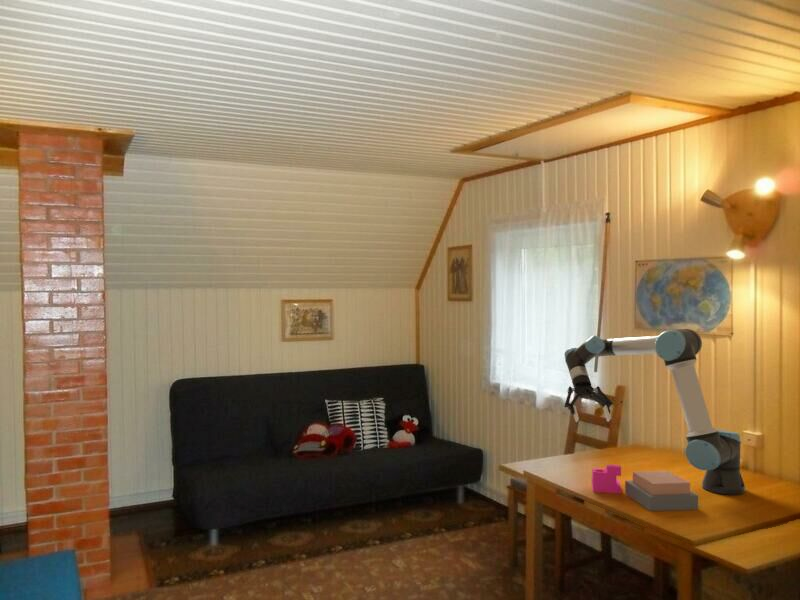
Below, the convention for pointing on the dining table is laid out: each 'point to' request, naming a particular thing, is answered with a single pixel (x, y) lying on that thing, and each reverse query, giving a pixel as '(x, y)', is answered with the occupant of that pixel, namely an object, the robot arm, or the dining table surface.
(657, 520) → the dining table surface
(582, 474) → the dining table surface
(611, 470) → the bracket
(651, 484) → the two-tone base plate
